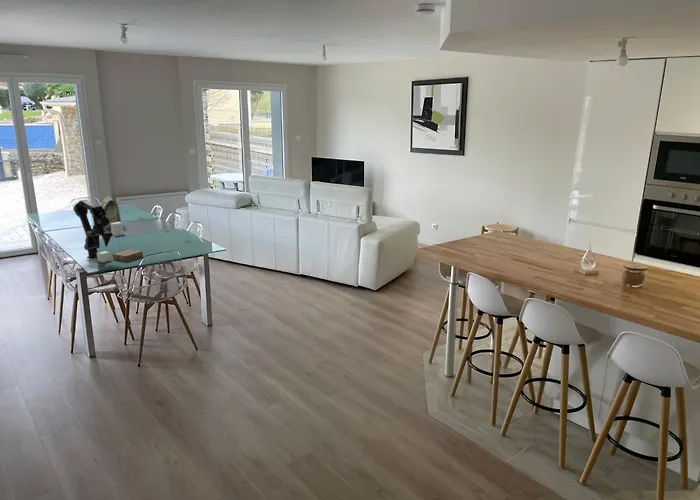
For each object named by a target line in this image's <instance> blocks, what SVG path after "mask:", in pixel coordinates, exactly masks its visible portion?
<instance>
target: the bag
mask: <svg viewBox="0 0 700 500" xmlns="http://www.w3.org/2000/svg"><path fill="white" fill-rule="evenodd" d="M100 205H101V206H102V207H103V209H104V211H105V212H106V215H105V216H106V218H108V219H109V224H108V225H107V226H104V230H111V225H110V223H115V222H122V220H121V213H120V209H119V205H118V204H117V202H116V201H115V200H113V198H112V197H110V196H109V195H107V196H106V197H105V198H104V199H103V200H102V202H101V204H100Z"/></svg>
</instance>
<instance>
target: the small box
mask: <svg viewBox="0 0 700 500" xmlns="http://www.w3.org/2000/svg"><path fill="white" fill-rule="evenodd" d="M110 225H111V229H110V232H111V233H112V234H113V236H112V237H116V236H117V237H118V236H121V235H125V232H124V225H123V222H122V221H121V222H115V223H110Z"/></svg>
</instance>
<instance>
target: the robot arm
mask: <svg viewBox="0 0 700 500" xmlns="http://www.w3.org/2000/svg"><path fill="white" fill-rule="evenodd" d="M101 205H102V204H94V203H92V202H90V201H89V200H88V199H81V200H79V201H78V202H77V203H76V204H74V205H73V212H75V215H76V216H77V217H78V218H79V220H80V222H81V225H82V228H83V231H84V233H85V240H84V241H85V243H84V246H83V248H84V250H86V251H87V254H88V255H87V257H88V258H89V259H95V258H97V253H99V252H98V249H100V247H101V246H100V244H101V242H100V237H101V239H103V242H104V247H108V245H109V242H110V239H111V238H112V237H114V236H113V234H112V232H111V231H107V230H106V229H105V227H104V226H107V225H108V224H109V219H108V218H106V216H105V215H106V212H105V211H104V209H103V207H102V206H101ZM89 212H90V214H91V215H92V216H91V217H92V218H93V225H92V227H91V223H90V221H89V217H88V213H89Z"/></svg>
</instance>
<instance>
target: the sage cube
mask: <svg viewBox="0 0 700 500" xmlns="http://www.w3.org/2000/svg"><path fill="white" fill-rule="evenodd" d="M96 258H97V262H99V263H105V262H110V261H112V259H111V254H110V251H107V250H106V251H105V250H104V251H100V252H98V253H97V257H96Z"/></svg>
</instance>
